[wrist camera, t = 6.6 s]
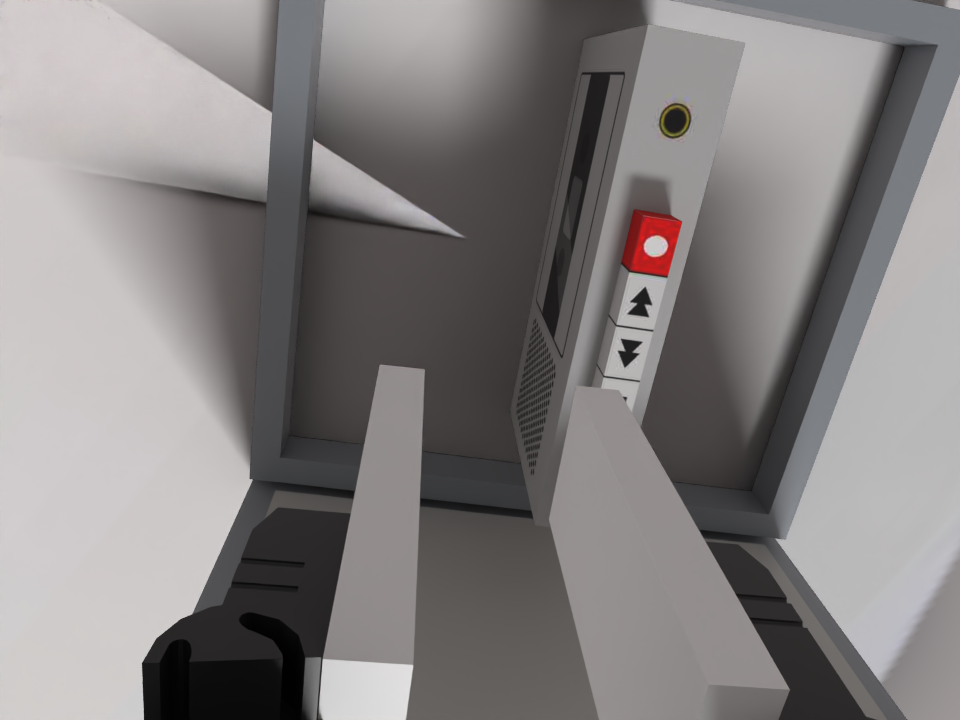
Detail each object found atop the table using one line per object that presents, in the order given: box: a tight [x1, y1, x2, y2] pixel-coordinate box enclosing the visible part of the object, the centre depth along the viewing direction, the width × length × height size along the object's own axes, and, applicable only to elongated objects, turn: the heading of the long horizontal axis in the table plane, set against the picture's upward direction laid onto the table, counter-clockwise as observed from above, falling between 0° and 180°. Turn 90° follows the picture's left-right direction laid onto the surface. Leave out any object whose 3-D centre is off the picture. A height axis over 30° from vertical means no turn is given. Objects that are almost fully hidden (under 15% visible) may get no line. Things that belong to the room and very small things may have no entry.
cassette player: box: [510, 24, 745, 527], centre depth 26 cm, size 16×3×10 cm, turn 171°
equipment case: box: [193, 0, 960, 720], centre depth 22 cm, size 24×24×18 cm
